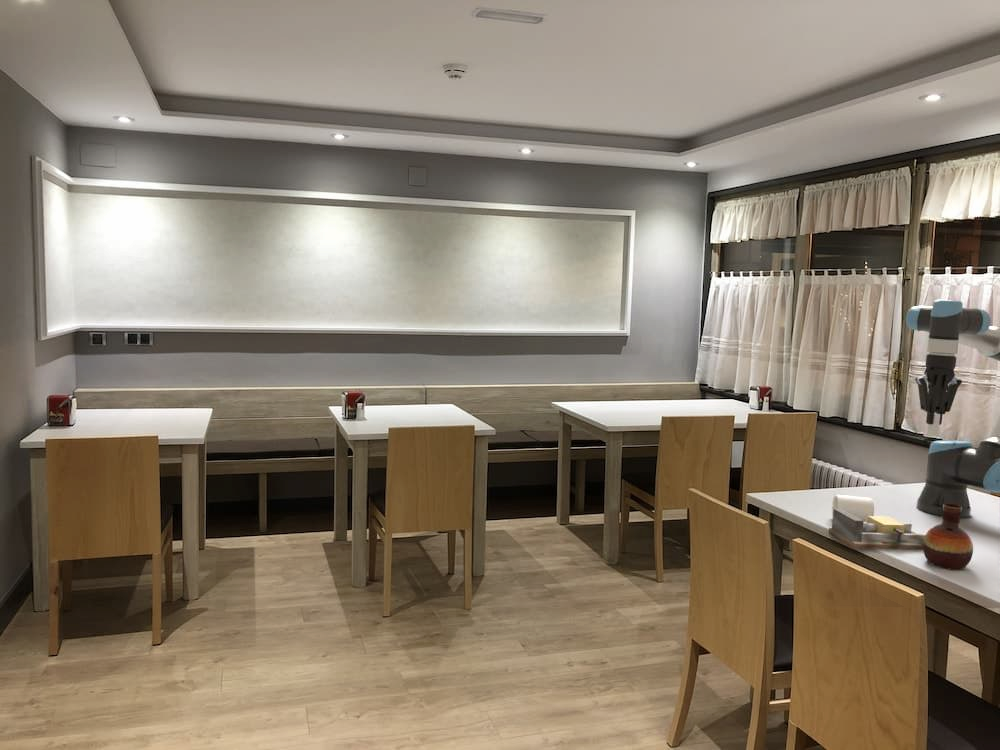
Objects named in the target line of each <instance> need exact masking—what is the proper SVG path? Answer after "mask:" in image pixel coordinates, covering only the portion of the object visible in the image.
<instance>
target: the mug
mask: <svg viewBox="0 0 1000 750" xmlns="http://www.w3.org/2000/svg"><path fill="white" fill-rule="evenodd" d="M834 509H843V510H845V511H847V512H848V513H850V514H852V515H854V516H856V517H858V518H859V519H861V520H863V521H864V522H867V518H868V516H875V504H874V500H873V499H872V498H871V497H866V496H865V497H864V496H854V495H846V494H845V495H843V494H835V495H834V496H833V498H832V505H831V516H832V517H833V511H834Z"/></svg>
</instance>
